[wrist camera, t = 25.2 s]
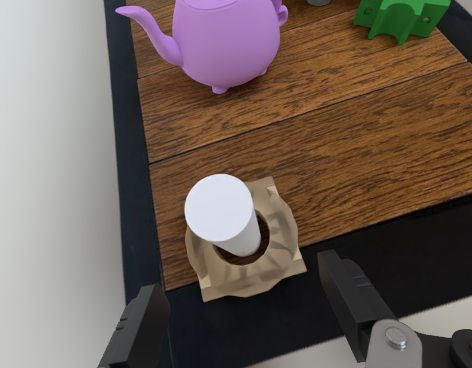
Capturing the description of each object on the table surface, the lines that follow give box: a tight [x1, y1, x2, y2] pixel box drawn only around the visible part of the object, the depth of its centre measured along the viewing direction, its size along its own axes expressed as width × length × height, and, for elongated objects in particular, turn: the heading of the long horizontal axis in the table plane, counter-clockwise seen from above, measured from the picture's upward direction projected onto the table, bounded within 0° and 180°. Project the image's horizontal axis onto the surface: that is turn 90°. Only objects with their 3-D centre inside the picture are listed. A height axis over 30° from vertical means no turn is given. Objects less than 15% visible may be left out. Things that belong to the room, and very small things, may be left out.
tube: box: [185, 174, 261, 257], centre depth 21 cm, size 4×4×15 cm
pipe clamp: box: [353, 0, 450, 45], centre depth 34 cm, size 11×4×5 cm, turn 64°
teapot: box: [115, 0, 288, 94], centre depth 32 cm, size 22×16×14 cm
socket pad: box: [184, 176, 307, 302], centre depth 27 cm, size 12×12×3 cm
